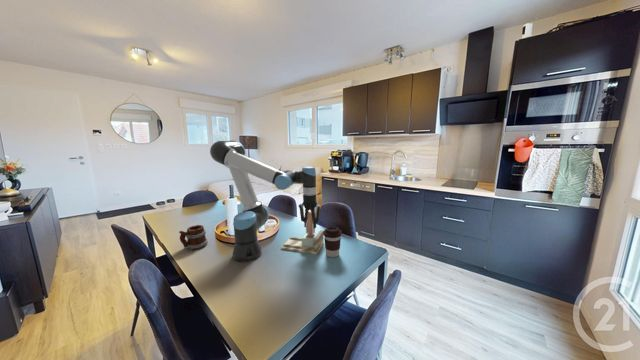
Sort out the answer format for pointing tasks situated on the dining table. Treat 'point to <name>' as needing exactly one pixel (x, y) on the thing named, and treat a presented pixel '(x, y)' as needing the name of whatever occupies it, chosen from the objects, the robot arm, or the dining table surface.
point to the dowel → (309, 224)
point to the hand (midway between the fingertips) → (310, 232)
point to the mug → (194, 237)
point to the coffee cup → (332, 241)
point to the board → (296, 245)
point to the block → (308, 240)
